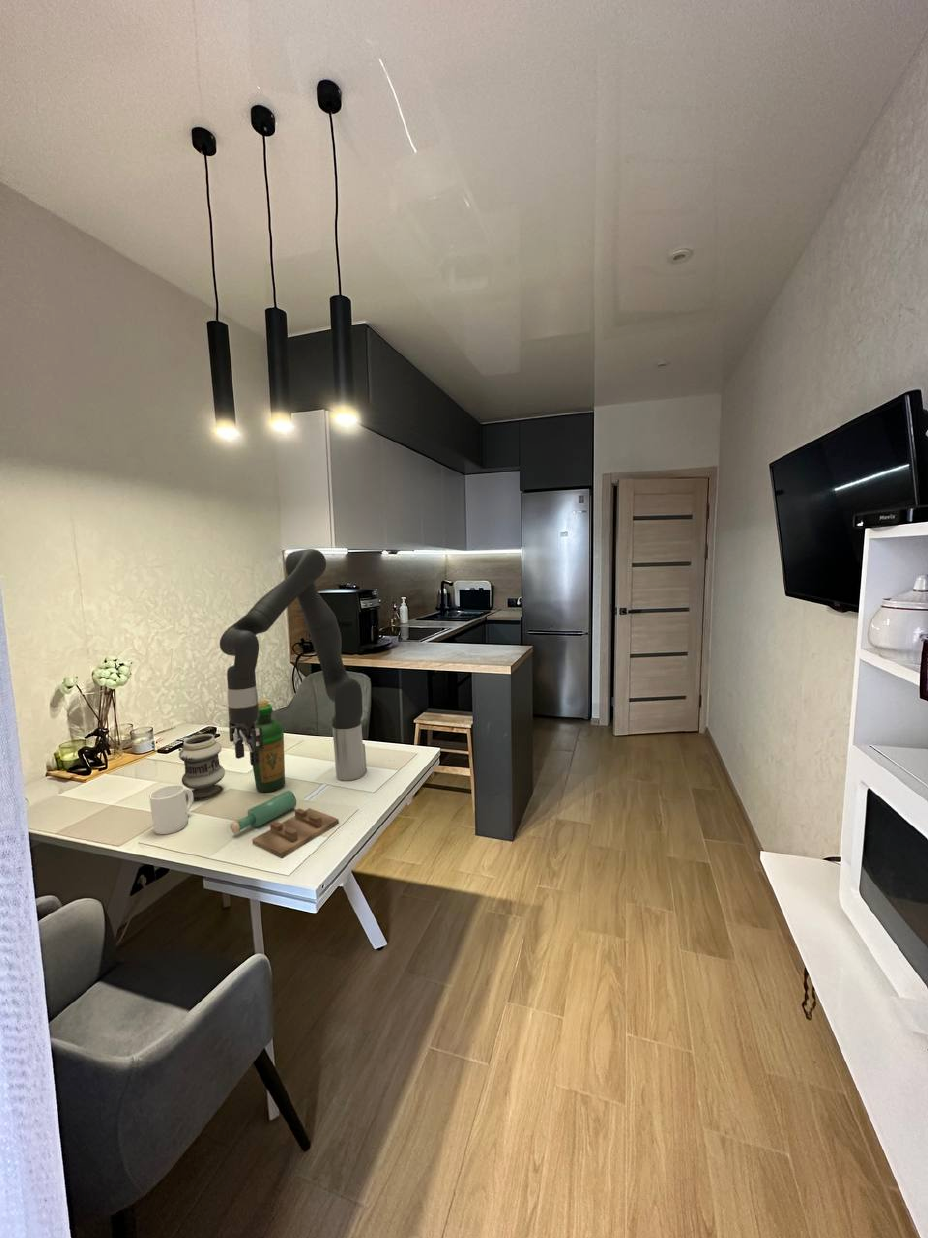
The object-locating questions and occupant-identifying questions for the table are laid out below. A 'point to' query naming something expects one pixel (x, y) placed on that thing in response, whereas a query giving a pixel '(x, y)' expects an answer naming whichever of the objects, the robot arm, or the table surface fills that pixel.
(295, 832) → the bottle rest
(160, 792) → the mug
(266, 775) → the bottle
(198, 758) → the apothecary jar
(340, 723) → the robot arm
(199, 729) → the table surface
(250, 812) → the bottle
